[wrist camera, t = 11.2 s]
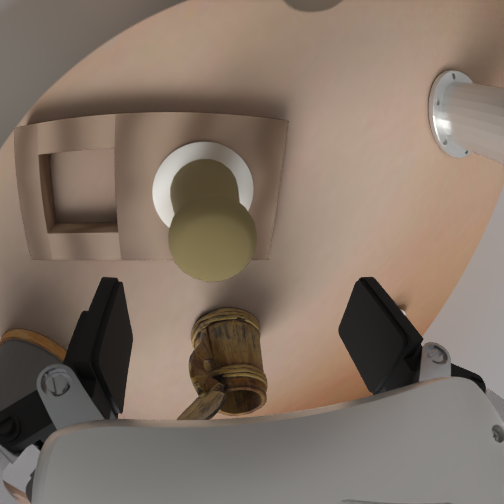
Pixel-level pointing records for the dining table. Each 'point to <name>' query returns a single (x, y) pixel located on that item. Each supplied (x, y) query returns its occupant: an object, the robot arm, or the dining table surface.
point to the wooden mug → (226, 365)
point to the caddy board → (145, 177)
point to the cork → (209, 222)
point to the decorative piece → (24, 368)
